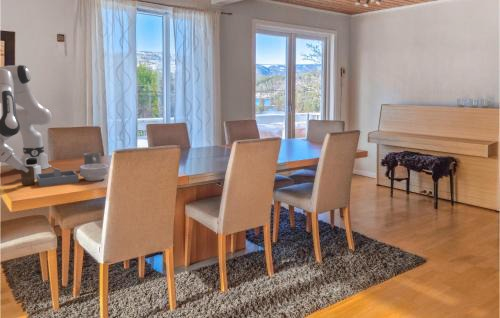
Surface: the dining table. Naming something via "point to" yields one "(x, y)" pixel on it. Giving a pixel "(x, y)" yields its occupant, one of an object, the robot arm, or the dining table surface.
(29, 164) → the medicine bottle
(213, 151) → the dining table surface
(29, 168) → the sleeve
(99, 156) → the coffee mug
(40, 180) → the tray
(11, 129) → the robot arm
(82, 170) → the paper bowls
